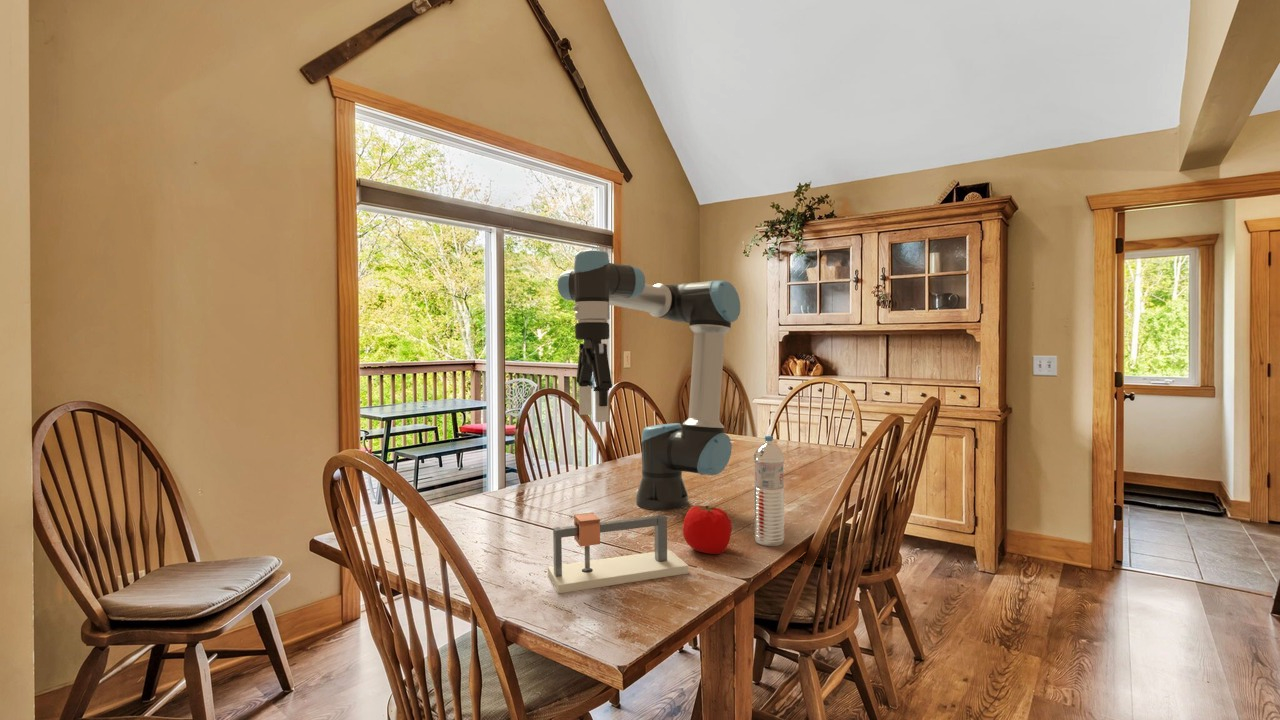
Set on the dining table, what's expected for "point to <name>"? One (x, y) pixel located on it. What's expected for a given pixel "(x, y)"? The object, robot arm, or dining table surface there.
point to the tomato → (707, 529)
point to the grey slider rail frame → (617, 525)
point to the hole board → (616, 571)
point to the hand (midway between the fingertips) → (593, 418)
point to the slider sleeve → (587, 532)
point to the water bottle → (769, 494)
